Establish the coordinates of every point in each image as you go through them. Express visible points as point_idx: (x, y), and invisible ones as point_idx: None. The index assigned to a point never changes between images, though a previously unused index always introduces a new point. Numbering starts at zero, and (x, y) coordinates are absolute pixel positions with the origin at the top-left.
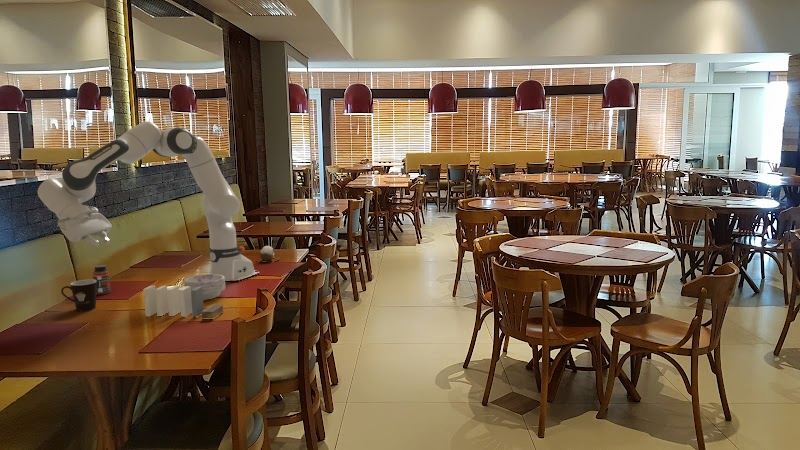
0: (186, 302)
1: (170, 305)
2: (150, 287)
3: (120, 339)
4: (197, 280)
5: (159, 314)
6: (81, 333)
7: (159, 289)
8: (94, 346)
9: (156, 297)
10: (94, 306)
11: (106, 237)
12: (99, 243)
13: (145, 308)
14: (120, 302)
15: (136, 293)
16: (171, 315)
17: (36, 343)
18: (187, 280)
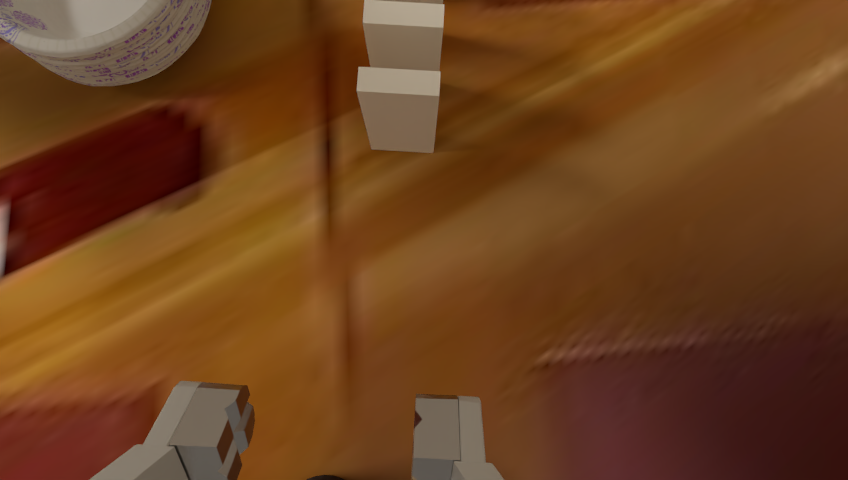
0: None
1: None
2: (405, 71)
3: (714, 105)
4: (34, 27)
5: None
6: (675, 301)
7: (444, 4)
8: (798, 159)
9: (440, 50)
10: (321, 477)
11: (173, 438)
12: (445, 395)
13: (434, 137)
14: None
15: (36, 407)
16: None
17: (814, 416)
18: (106, 31)
